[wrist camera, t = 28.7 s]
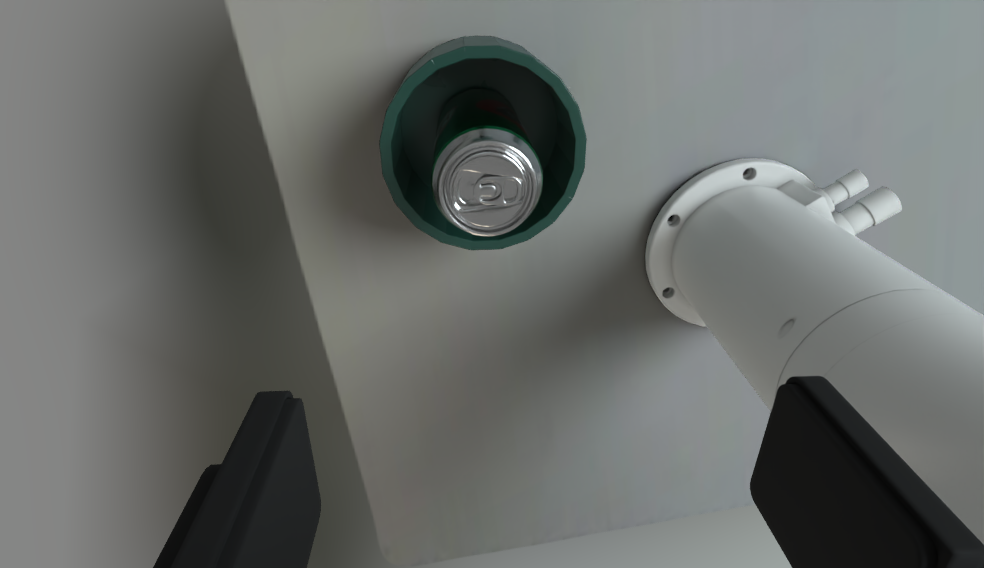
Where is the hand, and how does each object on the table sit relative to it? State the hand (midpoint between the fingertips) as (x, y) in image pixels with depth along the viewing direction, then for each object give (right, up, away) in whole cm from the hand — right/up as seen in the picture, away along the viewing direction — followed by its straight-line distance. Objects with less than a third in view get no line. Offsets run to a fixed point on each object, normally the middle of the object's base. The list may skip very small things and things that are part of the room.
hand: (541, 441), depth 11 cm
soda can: (-2, +13, +24) cm, 27 cm away
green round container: (-2, +13, +24) cm, 28 cm away
